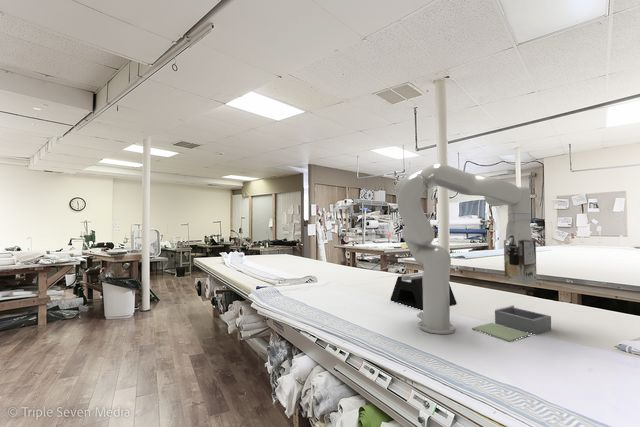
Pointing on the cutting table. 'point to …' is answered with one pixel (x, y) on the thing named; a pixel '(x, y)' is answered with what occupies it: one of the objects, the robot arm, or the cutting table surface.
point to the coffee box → (522, 264)
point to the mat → (501, 332)
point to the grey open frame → (522, 320)
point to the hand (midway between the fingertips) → (519, 264)
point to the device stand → (413, 291)
